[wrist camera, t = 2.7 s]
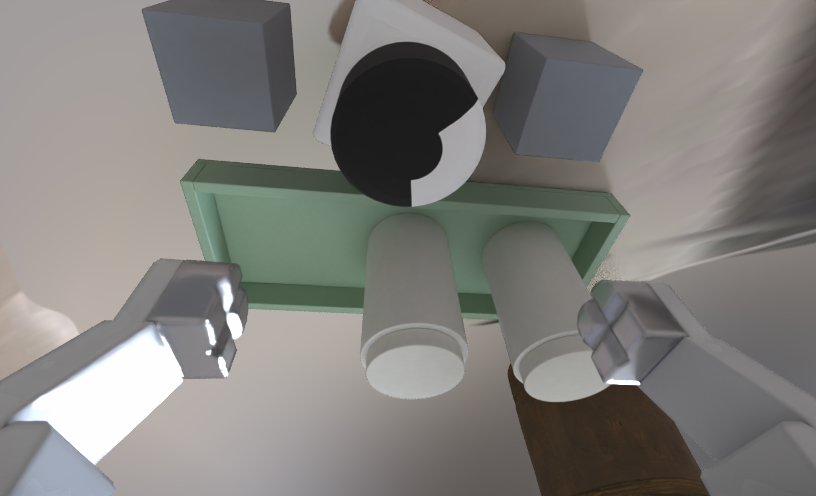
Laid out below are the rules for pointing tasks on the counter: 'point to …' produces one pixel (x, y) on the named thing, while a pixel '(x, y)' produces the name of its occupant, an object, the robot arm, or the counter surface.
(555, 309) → the white bottle
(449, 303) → the white bottle
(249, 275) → the tray
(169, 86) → the grey box
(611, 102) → the grey box
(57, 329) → the counter surface
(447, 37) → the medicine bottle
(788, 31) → the counter surface
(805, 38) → the counter surface
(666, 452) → the wooden container
